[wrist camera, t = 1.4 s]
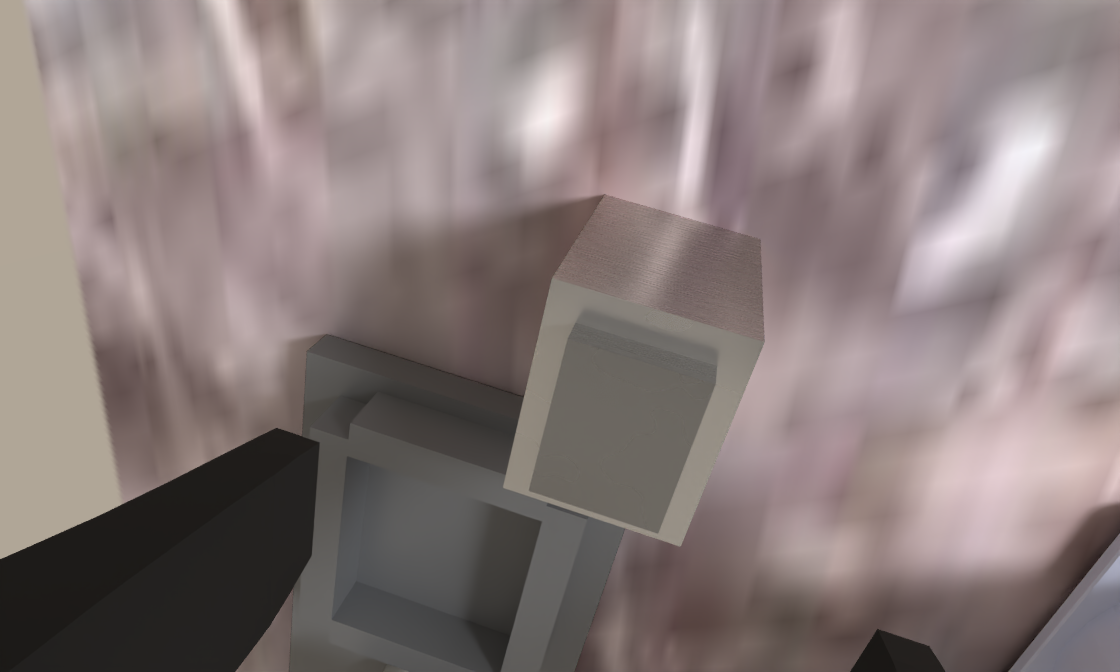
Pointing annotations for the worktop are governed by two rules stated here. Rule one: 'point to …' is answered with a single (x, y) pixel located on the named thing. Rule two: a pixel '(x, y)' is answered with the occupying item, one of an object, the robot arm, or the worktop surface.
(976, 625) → the worktop surface
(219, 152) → the worktop surface
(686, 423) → the grey rectangular block
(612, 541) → the chassis
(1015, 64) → the worktop surface
